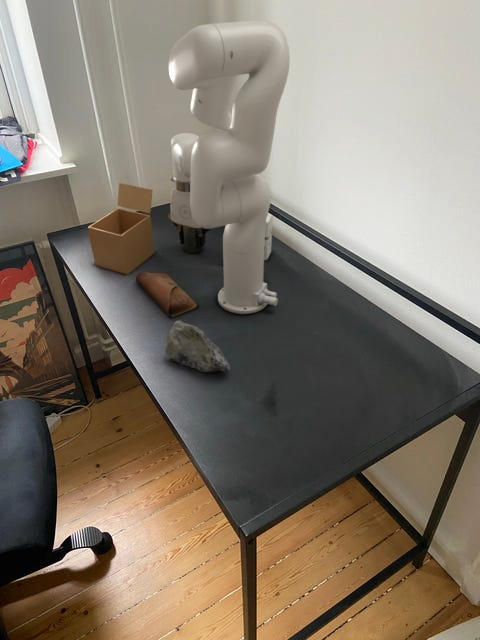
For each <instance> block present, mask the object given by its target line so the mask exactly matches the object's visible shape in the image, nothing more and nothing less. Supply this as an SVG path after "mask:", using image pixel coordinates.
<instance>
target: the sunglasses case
mask: <svg viewBox="0 0 480 640" xmlns="http://www.w3.org/2000/svg"><path fill="white" fill-rule="evenodd" d="M135 281H136V283H137V284H138V285H139V286H140V287H141V288H142V289H143V290H144V291H145V292H146V293H147V294H148V295H149V296H150V297H151V299H153V300H154V301H155V303H157V305H158V306H159V307H161V308H162V311H164V312H165V313H166V314H167V315H169V316H170V317H172V318H173V317H177V316H180V315H183V314H186V313H187V312H190V311H192V310H194V309H196V308H197V306H198V305H197V303H196V302H195V300H194V299H193V298H192V297H191V296H189V294H187V292H186V291H184V289H182V287H180V286H179V285H178V284H177V282H175V281H174V280H173V278H172V277H170V275H168V273H155V272H154V273H152V272H146V271H138V272H137V274H136V276H135Z"/></svg>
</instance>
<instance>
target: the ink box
mask: <svg viewBox="0 0 480 640" xmlns="http://www.w3.org/2000/svg"><path fill="white" fill-rule="evenodd" d="M273 217H274V216H273V214H271V213H268V215H267V219H266V226H265V244H264V261H267V260H268V259H269V257H270V255H271V253H272V241H273Z"/></svg>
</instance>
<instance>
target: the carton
mask: <svg viewBox="0 0 480 640" xmlns="http://www.w3.org/2000/svg"><path fill="white" fill-rule="evenodd" d="M87 232H88V236H89V241H90V246H91V251H92V256H93V261H94V265H95V266H97V267H100V268H104V269H108V270H110V271H114V272H117V273H120V274H121V273H122V274H124V275H129V274H130V273H131V272H133V271H134V270H135V269H136V268H138V267H139V266H141V264H143V263H144V262H145V261H146V260H148V259H149V258H150V257H152V256H153V255H155V252H156V251H155V245H154V244H155V243H154V235H153V226H152V218H151V215H150V214H146V213H140V212H136V211H134V210H129V209H125V208H120V207H117V208H116V209H114V210H112V211H110V212H109V213H107V214H106V215H104V216H103V217H101V218H100V219H98V220H97V221H94V223H92V224H90V225H89V226H87Z"/></svg>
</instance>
